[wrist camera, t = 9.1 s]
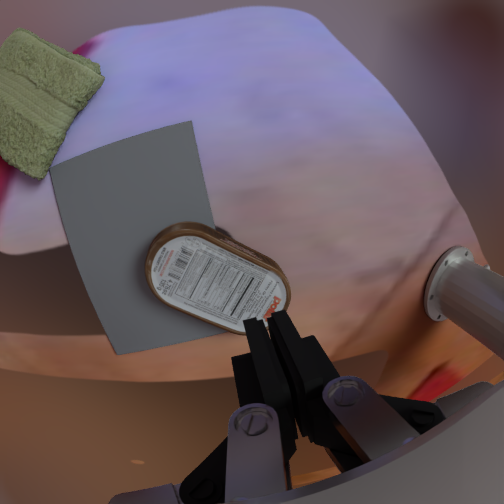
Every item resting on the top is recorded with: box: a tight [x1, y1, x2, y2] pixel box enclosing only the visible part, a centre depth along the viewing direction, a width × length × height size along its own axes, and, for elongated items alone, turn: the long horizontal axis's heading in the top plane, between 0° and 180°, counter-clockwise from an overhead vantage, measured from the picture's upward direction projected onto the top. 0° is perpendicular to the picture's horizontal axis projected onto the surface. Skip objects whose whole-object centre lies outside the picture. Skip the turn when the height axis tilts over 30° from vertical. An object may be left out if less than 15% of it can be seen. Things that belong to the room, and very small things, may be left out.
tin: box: [145, 221, 291, 335], centre depth 27 cm, size 15×3×8 cm
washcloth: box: [0, 28, 105, 181], centre depth 17 cm, size 13×18×3 cm
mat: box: [50, 121, 228, 355], centre depth 26 cm, size 15×22×1 cm
